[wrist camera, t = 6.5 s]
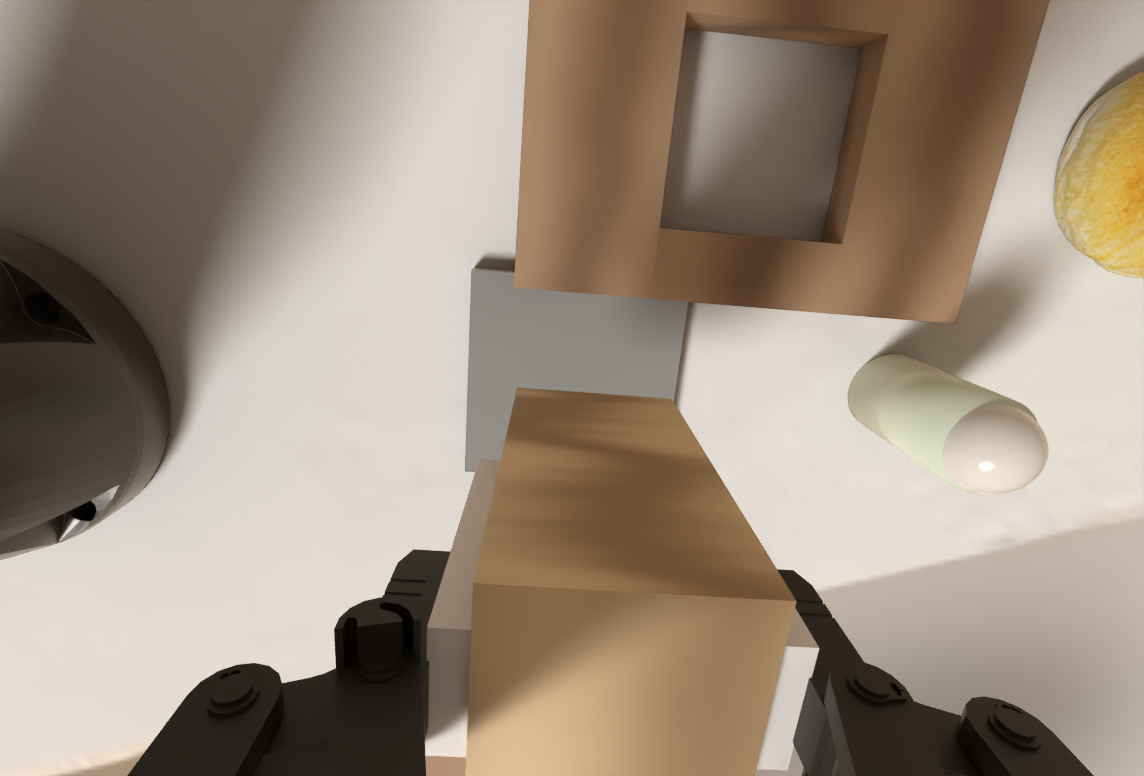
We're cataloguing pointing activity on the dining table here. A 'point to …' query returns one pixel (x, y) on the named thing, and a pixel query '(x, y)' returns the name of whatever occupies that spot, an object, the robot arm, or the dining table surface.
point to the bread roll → (1106, 181)
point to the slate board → (561, 350)
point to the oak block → (618, 601)
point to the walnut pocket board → (864, 172)
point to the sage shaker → (949, 425)
